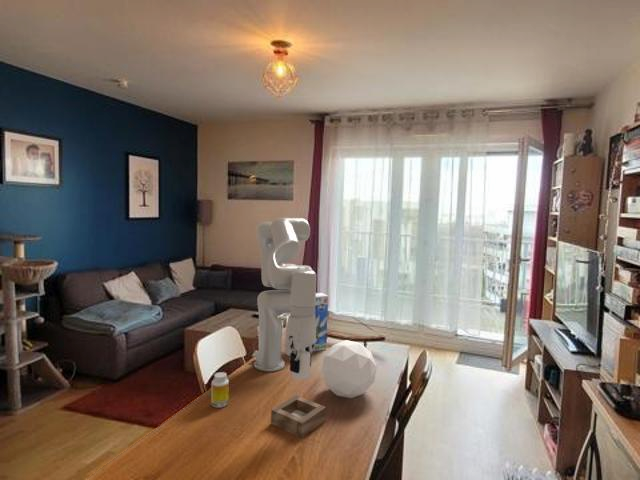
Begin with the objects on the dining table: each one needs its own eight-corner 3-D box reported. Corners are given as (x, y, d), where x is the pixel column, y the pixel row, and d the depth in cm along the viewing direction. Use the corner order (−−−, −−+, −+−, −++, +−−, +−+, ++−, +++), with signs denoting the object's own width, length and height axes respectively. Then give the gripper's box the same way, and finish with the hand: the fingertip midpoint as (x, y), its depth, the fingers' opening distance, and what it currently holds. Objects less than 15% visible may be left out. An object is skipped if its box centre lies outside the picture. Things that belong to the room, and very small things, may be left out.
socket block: (270, 423, 122) (271, 409, 122) (295, 408, 132) (296, 395, 131) (301, 438, 115) (302, 423, 115) (325, 420, 125) (326, 407, 125)
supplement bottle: (230, 406, 131) (230, 376, 130) (213, 409, 129) (213, 379, 128) (226, 398, 136) (226, 370, 135) (209, 401, 134) (210, 372, 133)
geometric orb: (358, 417, 141) (376, 389, 128) (307, 391, 144) (319, 361, 131) (373, 374, 155) (390, 345, 142) (326, 351, 158) (339, 321, 145)
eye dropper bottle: (295, 373, 125) (296, 335, 124) (311, 376, 123) (313, 338, 122) (288, 378, 121) (290, 340, 120) (305, 382, 119) (307, 343, 118)
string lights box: (300, 353, 181) (302, 297, 178) (294, 347, 187) (296, 293, 185) (326, 349, 186) (328, 295, 184) (319, 344, 193) (322, 292, 191)
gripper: (309, 303, 129) (307, 357, 131) (274, 313, 116) (272, 374, 117) (328, 307, 125) (326, 363, 127) (294, 318, 111) (292, 381, 113)
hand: (300, 368), depth 122 cm, fingers closed on eye dropper bottle, 5 cm apart
